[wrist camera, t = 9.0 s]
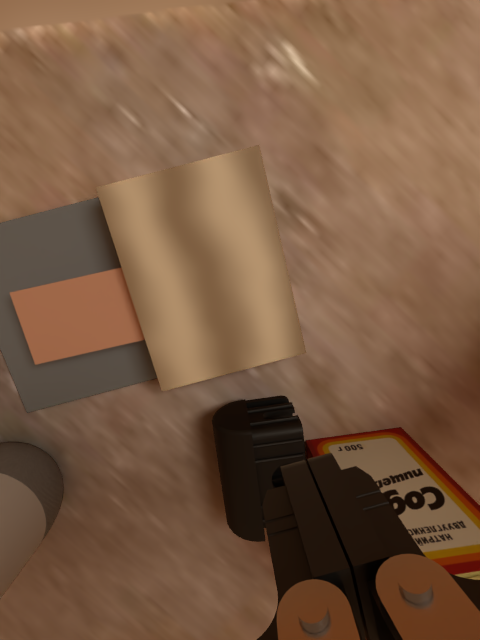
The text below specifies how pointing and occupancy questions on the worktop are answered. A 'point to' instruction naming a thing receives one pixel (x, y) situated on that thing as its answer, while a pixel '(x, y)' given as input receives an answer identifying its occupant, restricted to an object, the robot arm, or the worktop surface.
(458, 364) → the worktop surface
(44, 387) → the mat
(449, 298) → the worktop surface
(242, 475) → the end cap
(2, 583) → the smart speaker
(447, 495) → the baking soda box
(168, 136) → the worktop surface
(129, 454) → the worktop surface
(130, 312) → the tile
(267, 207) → the tan wooden flat block
